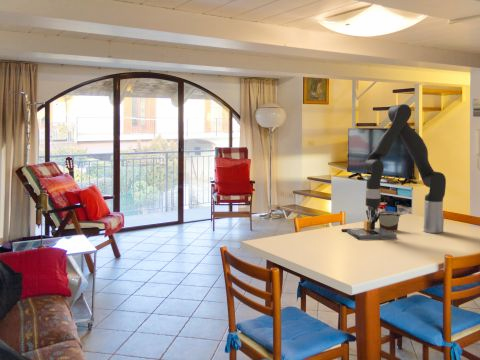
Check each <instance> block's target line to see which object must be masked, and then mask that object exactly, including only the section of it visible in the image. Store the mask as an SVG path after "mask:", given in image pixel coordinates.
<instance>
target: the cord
mask: <svg viewBox="0 0 480 360" xmlns="http://www.w3.org/2000/svg"><path fill="white" fill-rule="evenodd" d="M346 233H347V234H349V235H351V236H353V238H355V239H357V240H359V237H358V236H357V235H355V234H354V233H352V232H350V231H349V230H347V231H346Z"/></svg>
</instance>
